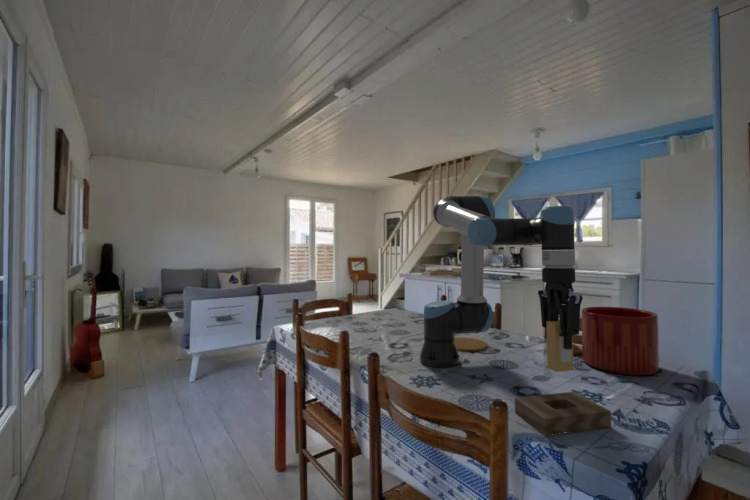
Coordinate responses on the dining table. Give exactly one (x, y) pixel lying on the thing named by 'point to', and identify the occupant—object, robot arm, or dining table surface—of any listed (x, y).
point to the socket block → (562, 413)
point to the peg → (556, 348)
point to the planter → (620, 340)
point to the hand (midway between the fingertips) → (560, 359)
